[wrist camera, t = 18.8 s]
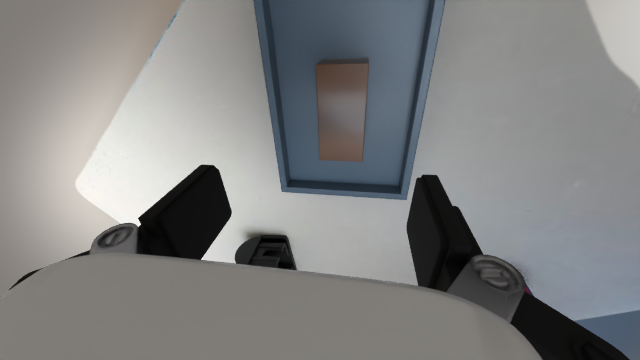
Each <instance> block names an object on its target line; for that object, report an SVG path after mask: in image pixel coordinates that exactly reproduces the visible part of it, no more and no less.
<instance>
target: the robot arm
mask: <svg viewBox="0 0 640 360" xmlns="http://www.w3.org/2000/svg"><path fill="white" fill-rule="evenodd" d="M231 213H232V211H231V208H230V204H229V201H228V198H227V195H226V191H225V188H224V185H223V182H222V178H221V175H220V172H219V170H218V169H217V168H216V167H215V166H214V165H200V166H199V167H198V168H197V169H195V170H194V171H193V172H192V173H191V174H190V175H188V176H187V177H186V178H185V179H184V180H182V181H181V182H180V183H179V184H178V185H177V186H175V187H174V188H173V189H172V190H171V191H170V192H168V193H167V194H166V195H165V196H164V197H162V198H161V199H160V200H159V201H158V202H157V203H155V204H154V205H153V206H152V207H151V208H149V209H148V210H147V211H146V212H145V213H144V214H142V215H141V216H140V217H139V218H138V219H139V221H140V223H141V225H140V226H139V227H138V226H137V225H135V224H133V223H124V224H119V225H116V226H114V227H111V228H109V229H107V230H105V231H104V232H102V233H101V234H100V235H98V236H97V237H96V238H95V240H94V241H93V243H92V246H91V249H90V250H89V251H87V252H84V253H81V254H78V255H76V256H73V257H70V258H68V259H65V260H62V261H60V262H57V263H54V264H51V265H49V266H47V267H44V268H41V269H39V270H36V271H33V272H30V273H28V274H27V275H25V276H23V277H22V278H21V279H20V280H18V282H17V283H16V284H14V285H13V286H12V287H11V288H10V289H9V291H8V292H7V293H5V294H4V295H2V296H0V360H629V359H628V358H627V357H626V356H625V355H624V354H623V353H622V352H621V351H619V350H618V349H616V348H615V347H614V346H612V345H611V344H609V343H608V342H606V341H605V340H603V339H601V338H600V337H598V336H597V335H595V334H593V333H591V332H590V331H589V330H587V329H585V328H584V327H582V326H581V325H579V324H577V323H575V322H574V321H572V320H571V319H569V318H568V317H566V316H564V315H563V314H561V313H560V312H558V311H556V310H555V309H553V308H552V307H550V306H548V305H547V304H545V303H543V302H542V301H540V300H539V299H537V298H535V297H534V296H532V295H531V294H529V293H527V292H526V291H525V287H526V283H525V280H524V278H523V276H522V275H521V274H520V272H519V271H518V270H517V269H516V268H515V267H513V266H512V265H511V264H509V263H508V262H506V261H504V260H502V259H500V258H498V257H495V256H491V255H483V253H482V251H481V249H480V247H479V245H478V243H477V242H476V240H475V238H474V236H473V234H472V232H471V230H470V228H469V226H468V224H467V222H466V221H465V219H464V217H463V215H462V213H461V211H460V209H459V208H458V207H456V206H452V204H451V202H450V200H449V198H448V196H447V194H446V192H445V190H444V188H443V186H442V184H441V182H440V180H439V178H438V176H437V175H422V176H421V178H417V179H416V184H415V188H414V193H413V198H412V202H411V207H410V212H409V217H408V221H407V234H408V239H409V244H410V248H411V253H412V258H413V262H414V267H415V272H416V277H417V281H418V286H415V285H409V284H403V283H396V282H388V281H381V280H373V279H365V278H358V277H349V276H341V275H332V274H323V273H315V272H306V271H297V270H288V269H279V268H270V267H261V266H252V265H243V264H234V263H225V262H215V261H206V260H201V259H202V257H203V256H204V254H205V253H206V252H207V250H208V249H209V247H210V246H211V244H212V243H213V242H214V240H215V239H216V237H217V236H218V234H219V233H220V232H221V230H222V229H223V227H224V226H225V224H226V223H227V222H228V220H229V219H230V217H231Z"/></svg>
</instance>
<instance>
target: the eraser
mask: <svg viewBox="0 0 640 360" xmlns="http://www.w3.org/2000/svg"><path fill="white" fill-rule="evenodd" d="M368 75H369V58H368V57H365V58H324V59H322V60H321V61H320V62H318V63H317V64H316V88H317V112H318V136H319V159H320V160H326V161H349V162H363V149H364V135H365V120H366V105H367V90H368Z"/></svg>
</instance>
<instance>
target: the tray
mask: <svg viewBox="0 0 640 360" xmlns="http://www.w3.org/2000/svg"><path fill="white" fill-rule="evenodd" d="M253 1H254V8H255V14H256V21H257V28H258V35H259V41H260V48H261V55H262V62H263V68H264V75H265V82H266V88H267V95H268V102H269V109H270V115H271V122H272V129H273V135H274V142H275V149H276V156H277V162H278V169H279V176H280V182H281V189H282V192H292V193H308V194H323V195H338V196H354V197H369V198H384V199H400V200H407V194H408V190H409V185H410V179H411V174H412V169H413V164H414V159H415V154H416V149H417V143H418V138H419V133H420V128H421V123H422V118H423V113H424V108H425V102H426V97H427V92H428V87H429V82H430V77H431V72H432V66H433V61H434V56H435V51H436V46H437V41H438V36H439V31H440V25H441V20H442V15H443V10H444V5H445V0H253ZM365 57H368V58H369V75H368V90H367V105H366V120H365V135H364V149H363V162H349V161H326V160H320V159H319V136H318V112H317V88H316V64H317V63H318V62H320V61H321V60H322V59H324V58H365Z"/></svg>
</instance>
